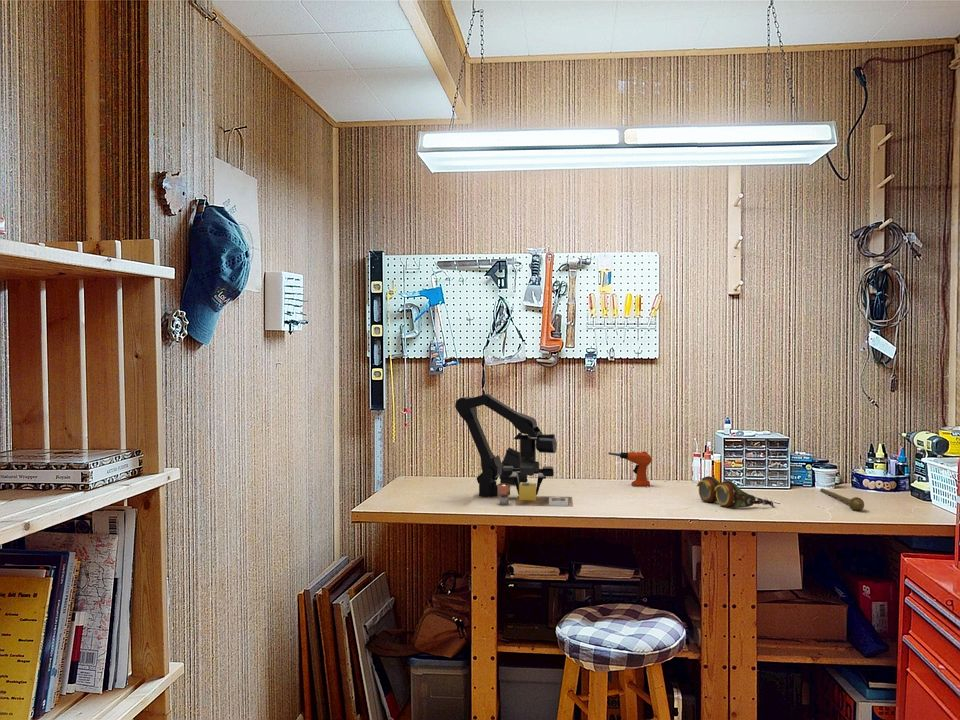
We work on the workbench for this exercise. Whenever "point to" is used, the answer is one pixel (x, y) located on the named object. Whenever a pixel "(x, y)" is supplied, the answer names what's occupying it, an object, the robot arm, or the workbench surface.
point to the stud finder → (527, 491)
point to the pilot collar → (558, 501)
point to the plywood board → (540, 501)
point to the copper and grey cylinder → (503, 493)
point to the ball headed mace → (847, 500)
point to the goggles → (727, 494)
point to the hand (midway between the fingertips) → (527, 494)
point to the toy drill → (638, 466)
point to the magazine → (513, 460)
